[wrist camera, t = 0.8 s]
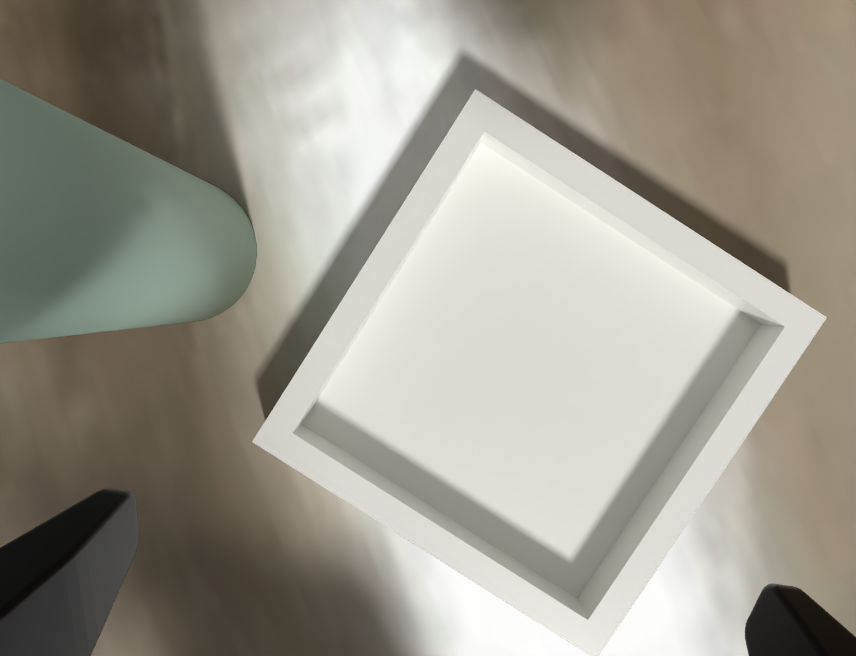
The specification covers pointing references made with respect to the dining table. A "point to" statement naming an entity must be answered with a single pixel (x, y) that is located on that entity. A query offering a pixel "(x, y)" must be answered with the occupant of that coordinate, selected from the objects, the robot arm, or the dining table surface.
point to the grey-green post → (107, 231)
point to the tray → (537, 375)
